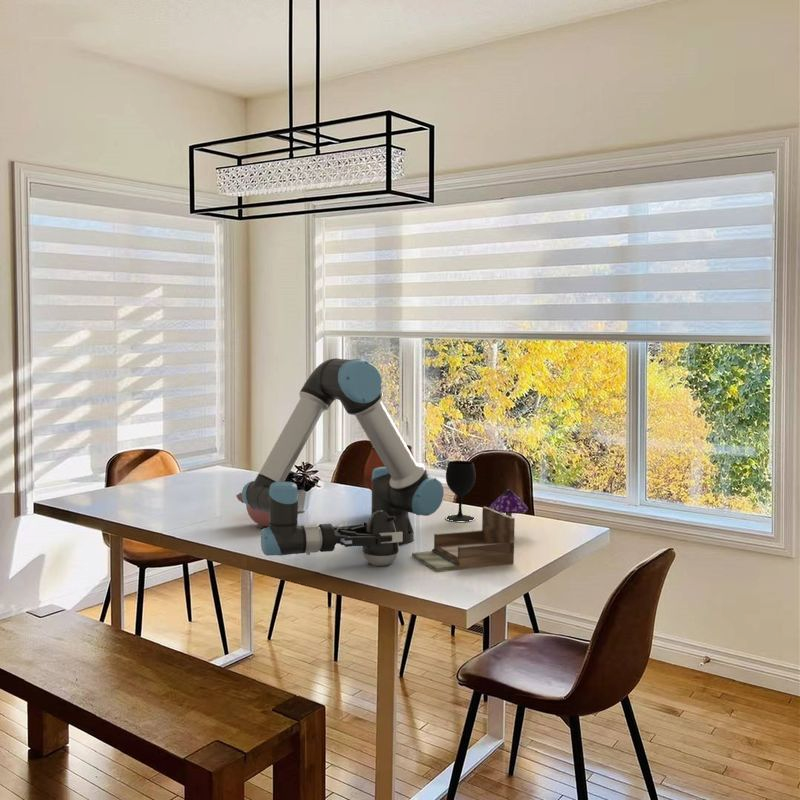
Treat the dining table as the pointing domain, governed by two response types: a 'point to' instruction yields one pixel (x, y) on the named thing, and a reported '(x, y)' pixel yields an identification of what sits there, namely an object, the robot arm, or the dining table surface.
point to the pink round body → (256, 514)
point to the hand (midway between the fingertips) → (395, 532)
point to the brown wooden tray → (473, 545)
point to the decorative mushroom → (509, 504)
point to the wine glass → (460, 483)
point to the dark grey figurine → (387, 551)
